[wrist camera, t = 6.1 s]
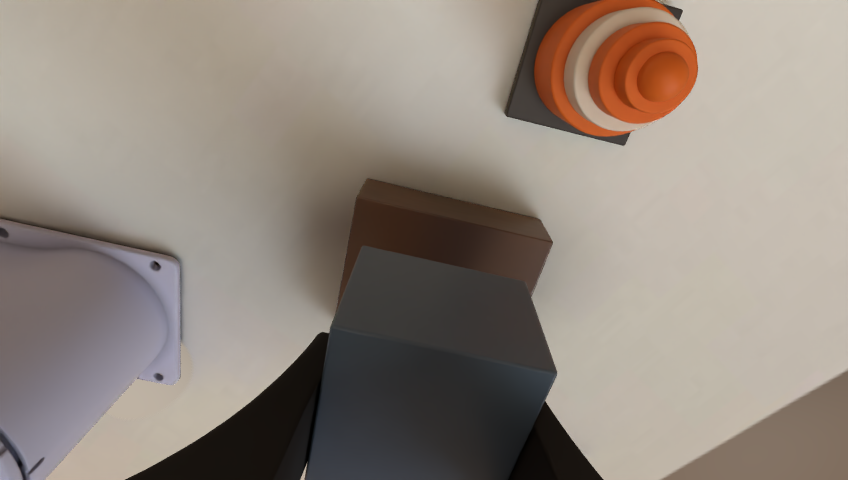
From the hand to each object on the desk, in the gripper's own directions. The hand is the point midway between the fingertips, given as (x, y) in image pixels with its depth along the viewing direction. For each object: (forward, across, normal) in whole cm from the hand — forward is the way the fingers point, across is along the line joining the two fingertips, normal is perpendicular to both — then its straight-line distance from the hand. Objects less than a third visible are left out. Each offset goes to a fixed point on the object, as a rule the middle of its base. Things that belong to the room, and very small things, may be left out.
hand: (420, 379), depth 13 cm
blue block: (+1, 0, 0) cm, 1 cm away
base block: (+8, 0, +1) cm, 8 cm away
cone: (+8, -4, -10) cm, 13 cm away
